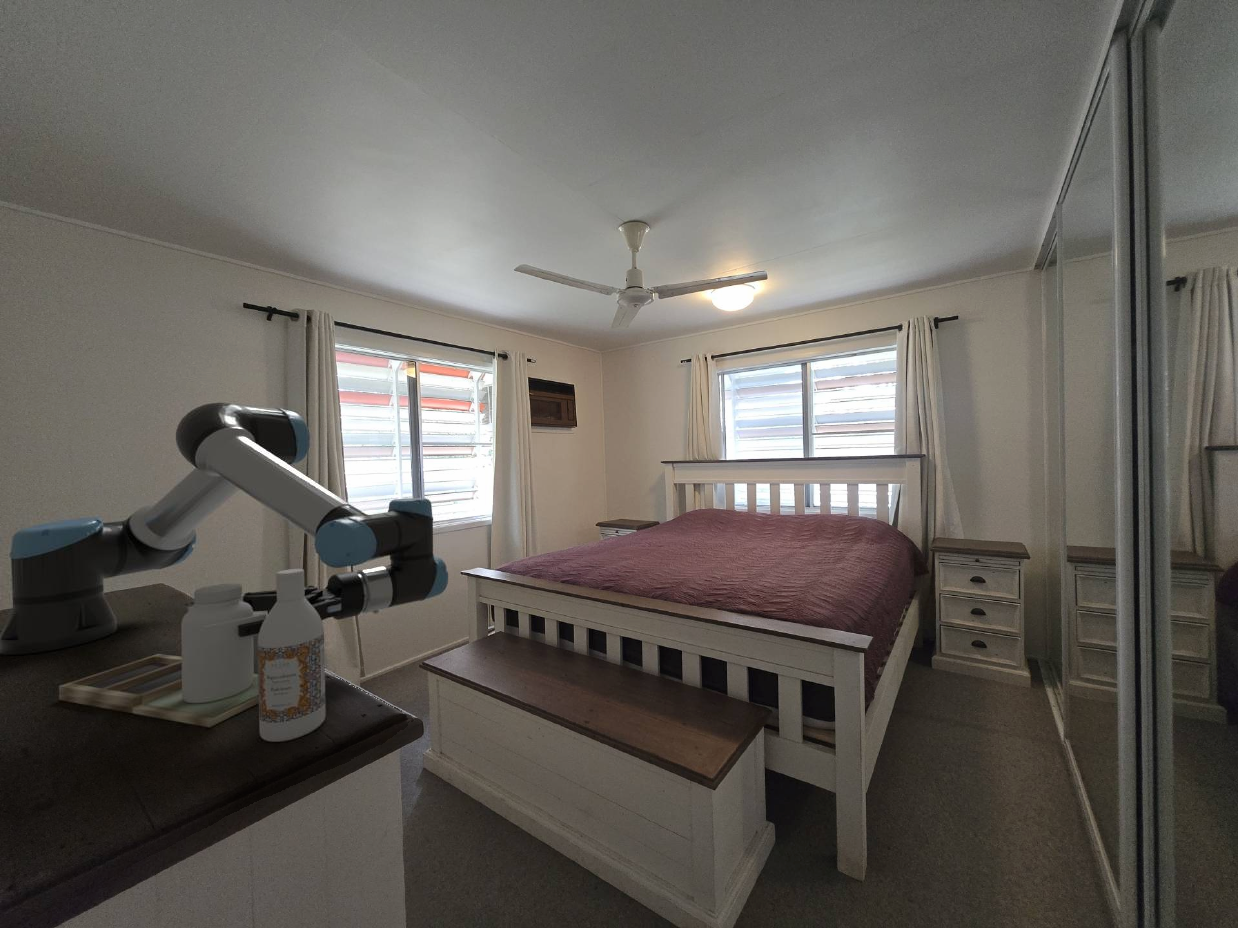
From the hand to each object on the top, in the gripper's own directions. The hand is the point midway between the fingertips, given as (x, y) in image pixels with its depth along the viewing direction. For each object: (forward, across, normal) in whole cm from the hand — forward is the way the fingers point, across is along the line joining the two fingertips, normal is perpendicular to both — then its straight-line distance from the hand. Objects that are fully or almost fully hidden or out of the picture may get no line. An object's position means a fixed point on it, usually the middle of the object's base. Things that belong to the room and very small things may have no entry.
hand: (195, 625), depth 67 cm
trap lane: (+1, +7, -11) cm, 13 cm away
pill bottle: (-2, 0, -10) cm, 11 cm away
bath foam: (-7, -17, -11) cm, 22 cm away
